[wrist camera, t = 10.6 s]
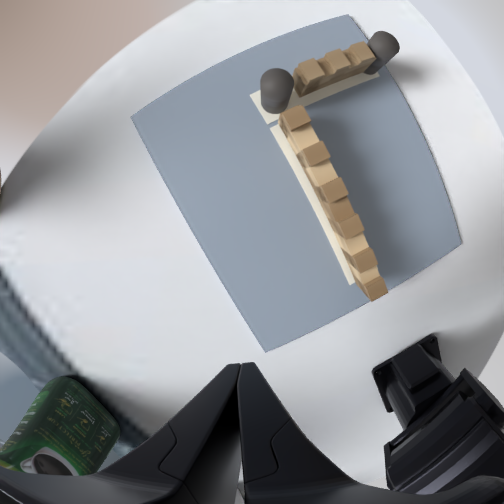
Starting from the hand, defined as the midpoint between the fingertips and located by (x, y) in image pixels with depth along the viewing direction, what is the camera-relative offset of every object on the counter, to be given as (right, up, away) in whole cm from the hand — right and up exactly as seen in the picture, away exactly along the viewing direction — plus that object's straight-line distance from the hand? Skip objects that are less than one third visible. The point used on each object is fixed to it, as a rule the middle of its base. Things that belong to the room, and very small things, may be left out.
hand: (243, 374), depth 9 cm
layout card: (+4, +9, +10) cm, 14 cm away
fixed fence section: (+5, +15, +8) cm, 18 cm away
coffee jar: (-18, -13, +16) cm, 28 cm away
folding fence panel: (+5, +7, +10) cm, 13 cm away
